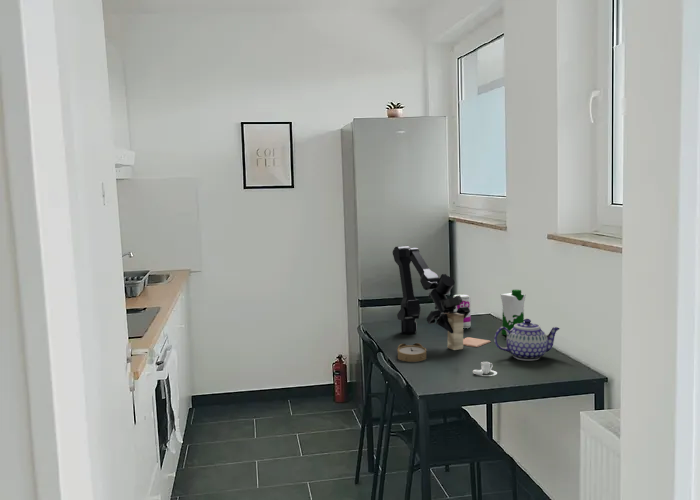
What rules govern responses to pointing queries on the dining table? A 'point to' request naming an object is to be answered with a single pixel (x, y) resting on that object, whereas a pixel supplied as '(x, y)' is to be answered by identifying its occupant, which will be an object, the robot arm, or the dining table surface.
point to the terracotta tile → (474, 342)
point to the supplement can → (465, 303)
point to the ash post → (455, 331)
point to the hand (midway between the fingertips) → (457, 332)
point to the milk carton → (512, 309)
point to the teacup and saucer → (485, 369)
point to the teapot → (527, 340)
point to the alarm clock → (411, 352)
